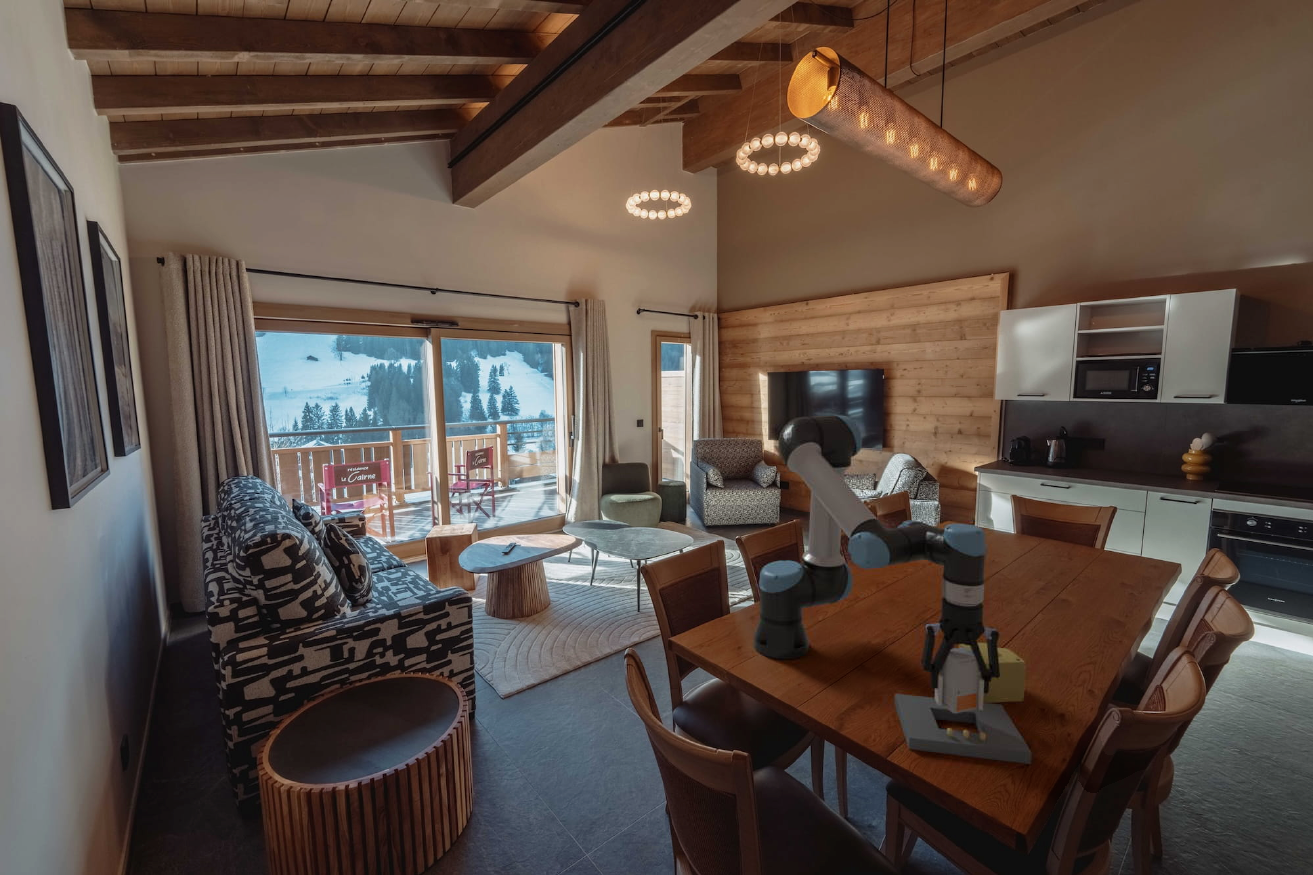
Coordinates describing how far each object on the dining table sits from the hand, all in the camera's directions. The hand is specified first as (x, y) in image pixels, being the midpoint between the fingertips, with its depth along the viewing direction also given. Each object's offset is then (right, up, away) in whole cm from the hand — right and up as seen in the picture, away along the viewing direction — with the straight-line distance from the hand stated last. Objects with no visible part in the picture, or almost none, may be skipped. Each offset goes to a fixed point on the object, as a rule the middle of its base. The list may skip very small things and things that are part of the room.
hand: (958, 703), depth 118 cm
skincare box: (0, -1, 0) cm, 1 cm away
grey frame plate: (0, -6, +1) cm, 6 cm away
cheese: (+16, -4, +15) cm, 23 cm away
